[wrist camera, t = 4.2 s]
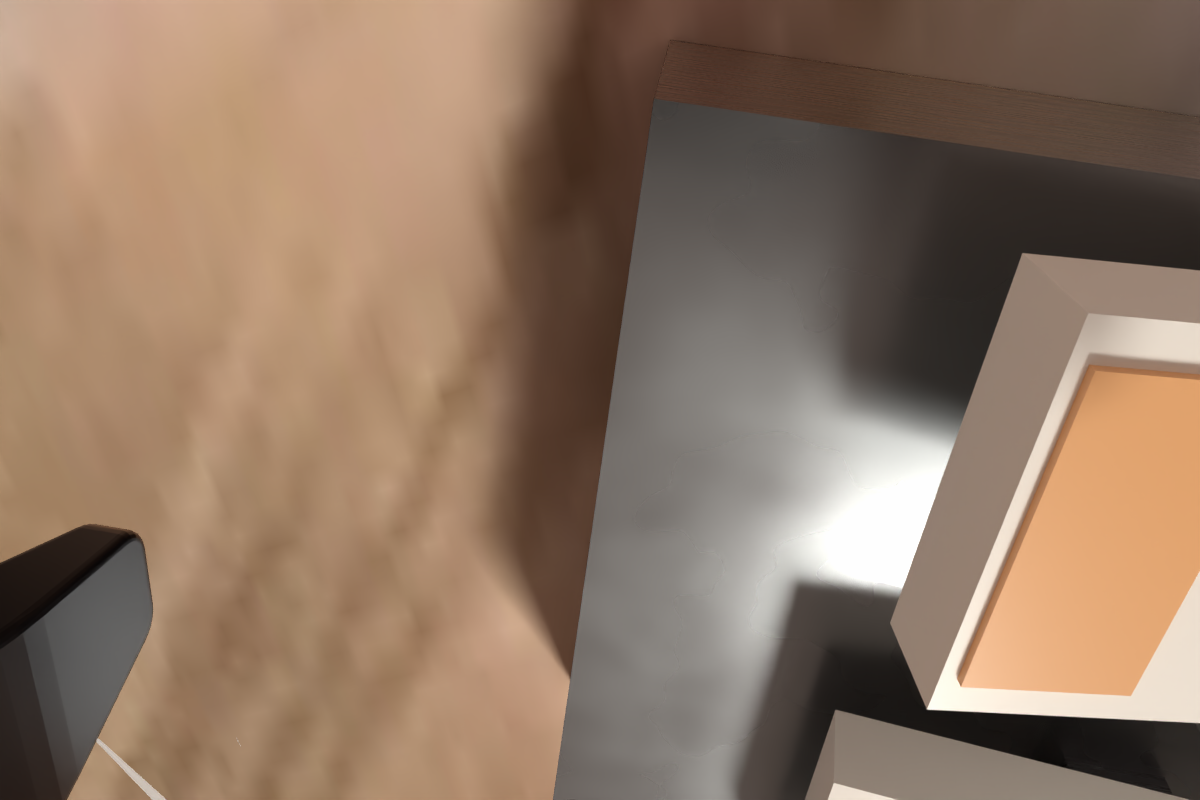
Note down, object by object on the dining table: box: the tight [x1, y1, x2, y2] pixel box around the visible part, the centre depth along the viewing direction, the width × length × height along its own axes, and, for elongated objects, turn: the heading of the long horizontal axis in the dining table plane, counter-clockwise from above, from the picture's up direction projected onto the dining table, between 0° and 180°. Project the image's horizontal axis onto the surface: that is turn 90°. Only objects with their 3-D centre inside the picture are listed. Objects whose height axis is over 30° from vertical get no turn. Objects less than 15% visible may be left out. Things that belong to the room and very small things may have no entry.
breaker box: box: [553, 40, 1200, 800], centre depth 16 cm, size 18×14×5 cm
